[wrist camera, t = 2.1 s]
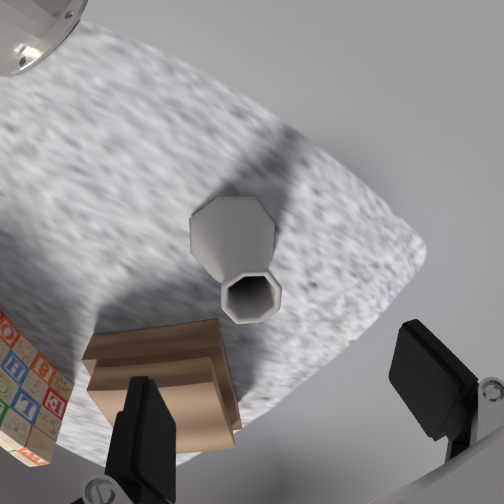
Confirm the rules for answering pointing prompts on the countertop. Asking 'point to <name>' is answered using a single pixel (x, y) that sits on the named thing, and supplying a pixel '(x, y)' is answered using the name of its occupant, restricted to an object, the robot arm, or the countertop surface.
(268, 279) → the flask
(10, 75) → the robot arm
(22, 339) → the stack of blocks
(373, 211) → the countertop surface
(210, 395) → the stepped wooden pedestal
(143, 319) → the countertop surface
